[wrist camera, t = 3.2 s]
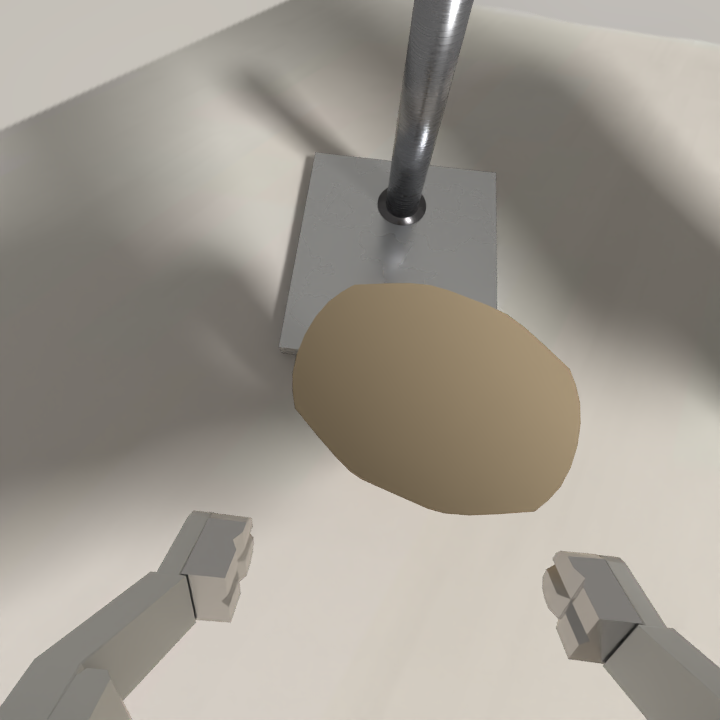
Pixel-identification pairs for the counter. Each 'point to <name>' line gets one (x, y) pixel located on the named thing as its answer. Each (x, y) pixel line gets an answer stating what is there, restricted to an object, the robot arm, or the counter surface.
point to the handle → (438, 399)
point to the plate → (389, 237)
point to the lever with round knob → (424, 96)
